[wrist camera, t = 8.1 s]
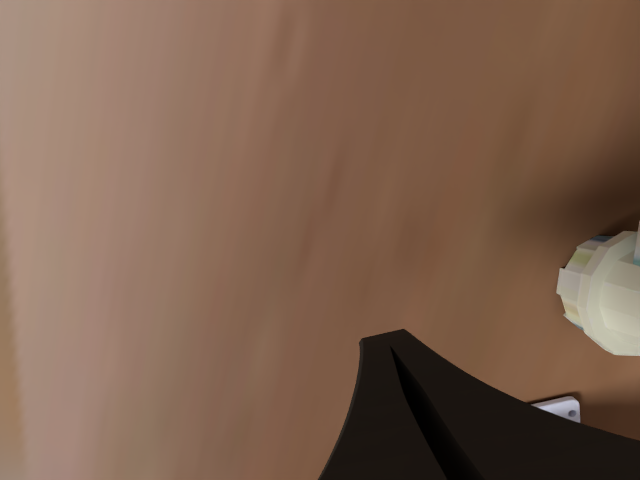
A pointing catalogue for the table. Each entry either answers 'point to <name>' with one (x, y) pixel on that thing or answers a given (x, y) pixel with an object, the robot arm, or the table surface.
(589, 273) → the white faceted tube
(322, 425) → the table surface
